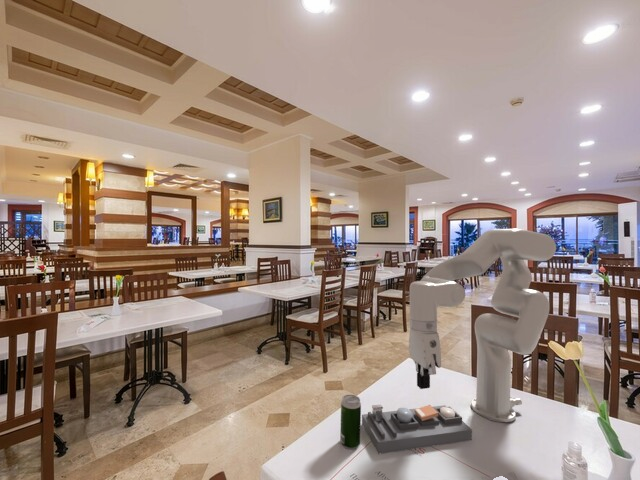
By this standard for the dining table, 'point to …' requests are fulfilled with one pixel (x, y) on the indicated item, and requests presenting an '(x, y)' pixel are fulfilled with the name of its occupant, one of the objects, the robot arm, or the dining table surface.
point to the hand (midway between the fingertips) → (423, 386)
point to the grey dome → (404, 415)
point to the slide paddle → (377, 412)
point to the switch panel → (414, 431)
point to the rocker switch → (426, 412)
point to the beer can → (350, 422)
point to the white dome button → (447, 412)
